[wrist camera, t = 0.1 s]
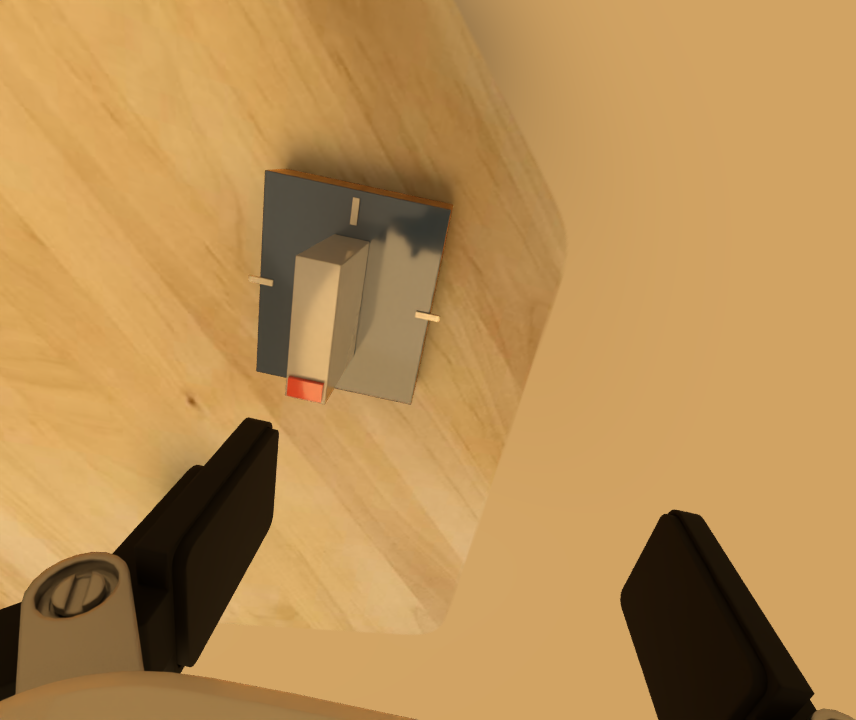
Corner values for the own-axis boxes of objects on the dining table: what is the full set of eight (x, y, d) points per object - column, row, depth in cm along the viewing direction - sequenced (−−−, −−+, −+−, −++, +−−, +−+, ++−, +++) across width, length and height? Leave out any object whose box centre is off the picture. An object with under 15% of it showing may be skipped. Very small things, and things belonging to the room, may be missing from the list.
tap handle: (334, 233, 25) (293, 256, 20) (369, 241, 25) (339, 266, 20) (321, 349, 28) (283, 398, 22) (353, 356, 28) (323, 407, 22)
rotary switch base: (275, 166, 27) (252, 167, 24) (463, 206, 27) (462, 212, 24) (266, 351, 32) (245, 370, 29) (424, 385, 32) (420, 408, 29)
